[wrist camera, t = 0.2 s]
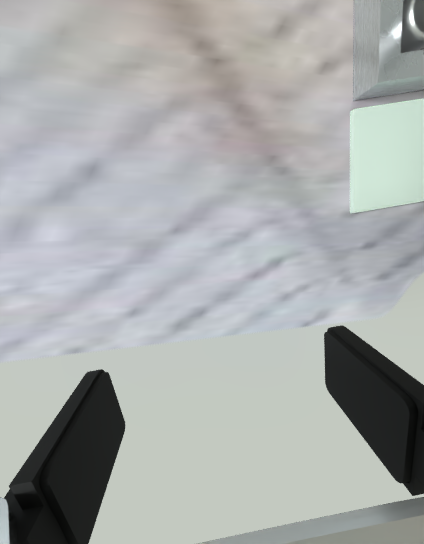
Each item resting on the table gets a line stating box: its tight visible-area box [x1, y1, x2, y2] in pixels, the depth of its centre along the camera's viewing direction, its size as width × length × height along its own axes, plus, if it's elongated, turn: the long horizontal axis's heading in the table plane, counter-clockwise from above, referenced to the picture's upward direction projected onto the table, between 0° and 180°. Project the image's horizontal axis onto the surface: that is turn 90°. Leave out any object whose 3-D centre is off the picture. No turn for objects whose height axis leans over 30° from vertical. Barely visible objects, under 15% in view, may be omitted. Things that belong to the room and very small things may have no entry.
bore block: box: [353, 0, 424, 101], centre depth 31 cm, size 15×15×5 cm
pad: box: [350, 98, 424, 213], centre depth 37 cm, size 16×16×1 cm
